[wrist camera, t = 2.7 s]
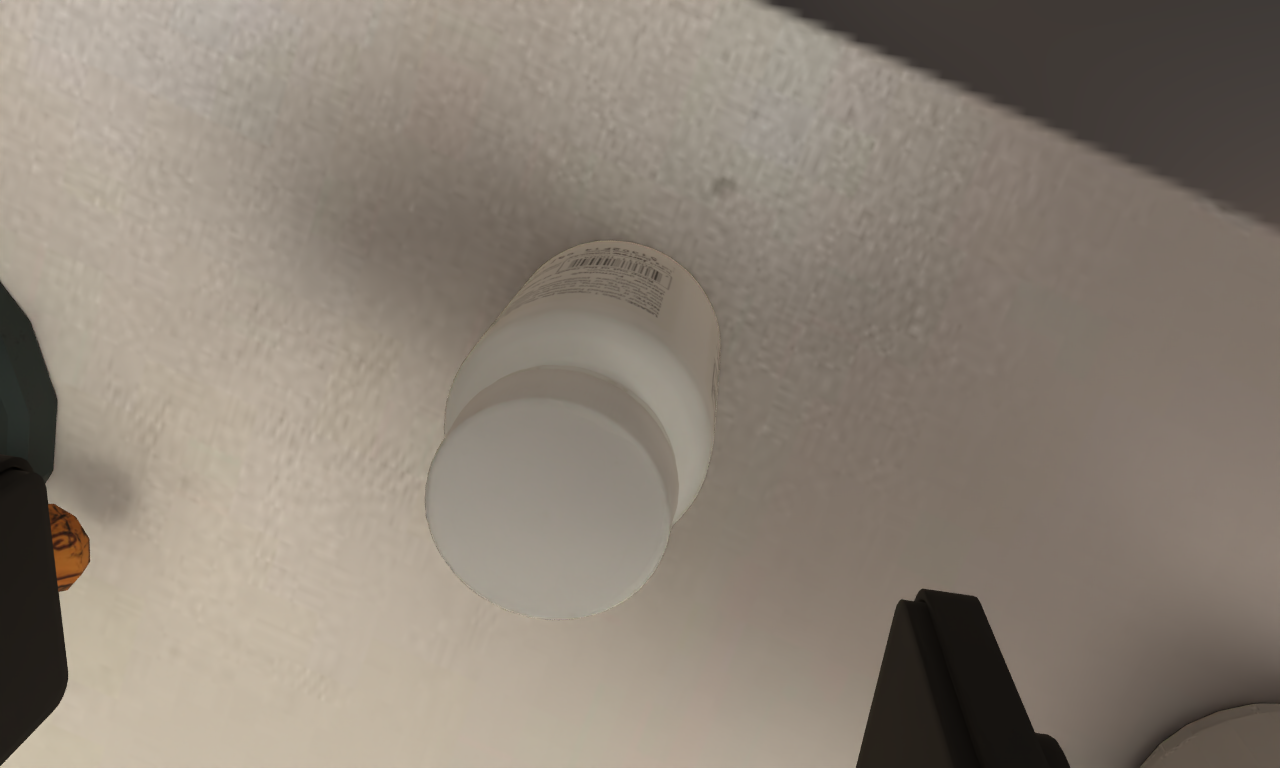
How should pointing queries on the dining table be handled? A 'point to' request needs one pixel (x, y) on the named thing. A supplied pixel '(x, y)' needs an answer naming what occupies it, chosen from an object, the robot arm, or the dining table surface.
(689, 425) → the pill bottle
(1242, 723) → the coffee cup
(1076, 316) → the dining table surface
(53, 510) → the mug
